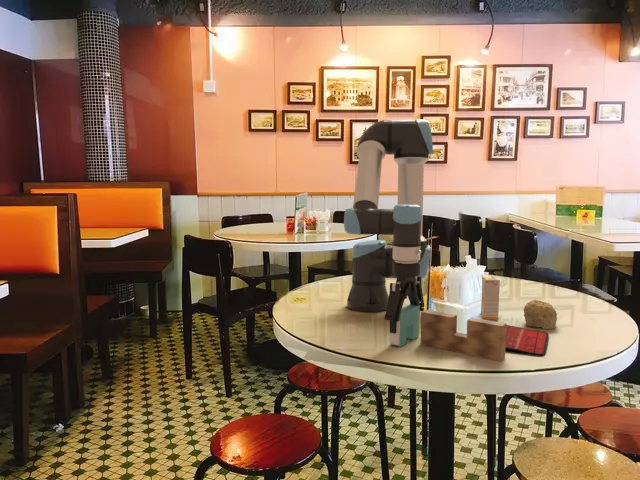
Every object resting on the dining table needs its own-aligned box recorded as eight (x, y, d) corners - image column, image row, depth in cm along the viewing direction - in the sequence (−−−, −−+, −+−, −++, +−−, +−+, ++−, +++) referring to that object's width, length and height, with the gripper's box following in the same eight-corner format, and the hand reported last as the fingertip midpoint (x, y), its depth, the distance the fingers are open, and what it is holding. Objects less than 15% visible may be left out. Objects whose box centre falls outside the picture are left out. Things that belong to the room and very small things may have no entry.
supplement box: (498, 320, 164) (500, 280, 162) (483, 319, 164) (484, 279, 163) (495, 313, 172) (497, 275, 170) (480, 312, 173) (481, 274, 171)
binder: (480, 341, 137) (492, 321, 156) (480, 350, 137) (491, 329, 156) (546, 353, 130) (549, 330, 149) (545, 361, 130) (548, 338, 149)
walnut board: (420, 343, 141) (421, 311, 140) (425, 341, 143) (426, 309, 142) (501, 361, 127) (502, 326, 126) (505, 358, 130) (506, 323, 129)
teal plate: (400, 346, 138) (400, 314, 137) (390, 344, 140) (390, 312, 139) (418, 336, 147) (419, 305, 146) (409, 334, 149) (410, 304, 147)
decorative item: (555, 337, 158) (554, 307, 163) (559, 325, 150) (558, 294, 155) (522, 335, 161) (522, 305, 166) (524, 323, 153) (524, 292, 158)
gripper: (397, 268, 129) (396, 352, 132) (437, 256, 147) (435, 330, 150) (371, 265, 134) (371, 347, 136) (414, 254, 152) (412, 326, 155)
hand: (405, 338), depth 143 cm, fingers closed on teal plate, 11 cm apart
